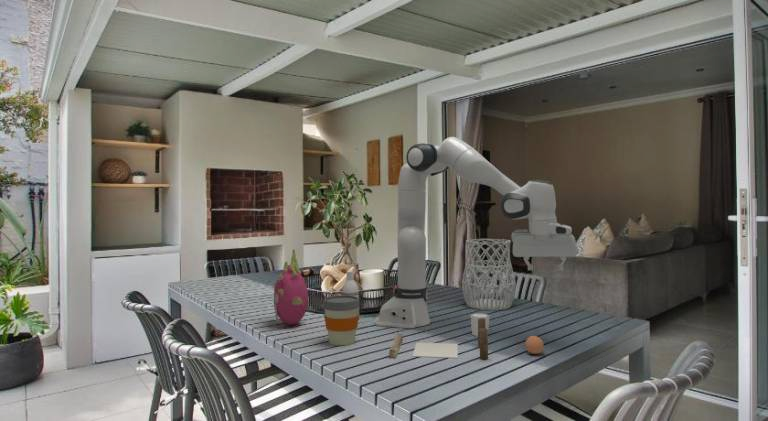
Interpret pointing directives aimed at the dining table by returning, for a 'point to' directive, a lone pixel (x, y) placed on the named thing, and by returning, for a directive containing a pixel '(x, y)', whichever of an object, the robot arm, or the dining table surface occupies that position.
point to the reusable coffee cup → (341, 319)
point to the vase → (488, 277)
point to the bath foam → (350, 286)
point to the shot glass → (475, 322)
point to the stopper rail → (396, 345)
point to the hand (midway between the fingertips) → (545, 270)
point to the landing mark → (436, 350)
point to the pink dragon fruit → (290, 294)
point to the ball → (534, 345)
